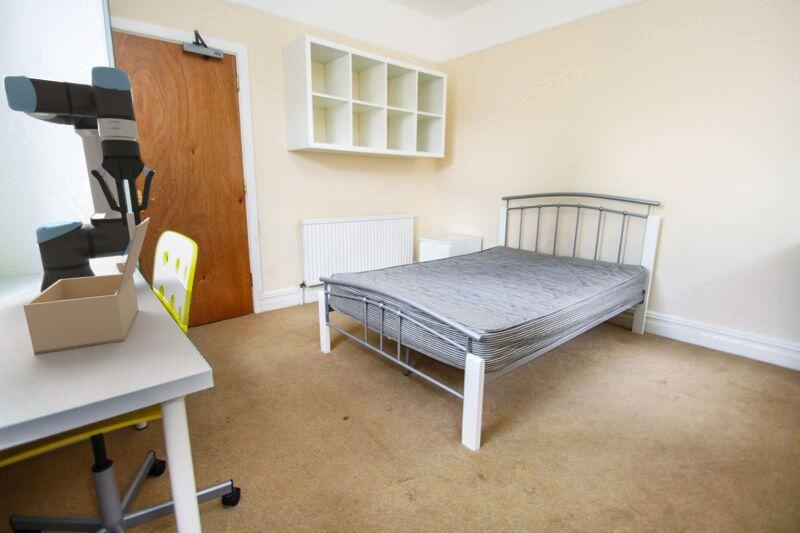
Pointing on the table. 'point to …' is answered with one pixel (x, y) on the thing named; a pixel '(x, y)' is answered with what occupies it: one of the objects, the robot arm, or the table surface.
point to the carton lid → (133, 253)
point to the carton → (81, 313)
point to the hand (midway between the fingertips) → (134, 239)
